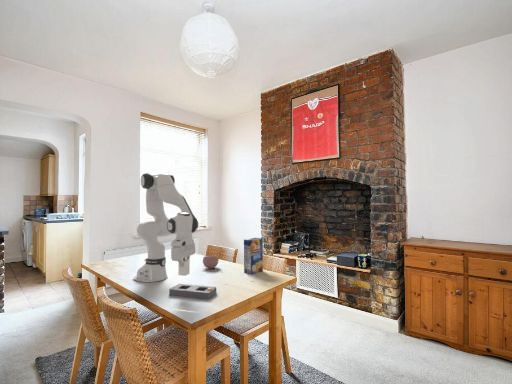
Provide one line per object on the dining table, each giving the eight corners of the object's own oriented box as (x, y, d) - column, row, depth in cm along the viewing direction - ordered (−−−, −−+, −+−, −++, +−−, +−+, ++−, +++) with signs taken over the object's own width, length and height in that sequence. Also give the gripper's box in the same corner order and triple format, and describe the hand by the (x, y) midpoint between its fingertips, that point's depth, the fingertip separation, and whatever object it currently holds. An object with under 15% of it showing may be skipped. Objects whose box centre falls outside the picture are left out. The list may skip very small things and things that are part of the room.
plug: (178, 275, 155) (178, 257, 155) (182, 272, 159) (182, 255, 159) (185, 275, 154) (185, 257, 154) (189, 273, 158) (189, 256, 158)
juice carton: (255, 269, 208) (255, 237, 209) (262, 271, 203) (262, 238, 203) (244, 272, 200) (243, 239, 200) (251, 274, 194) (250, 240, 195)
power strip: (169, 296, 153) (169, 288, 153) (179, 290, 162) (179, 282, 162) (208, 300, 146) (208, 291, 146) (216, 294, 156) (216, 286, 156)
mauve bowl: (219, 266, 218) (219, 251, 218) (217, 270, 206) (217, 255, 206) (204, 266, 219) (204, 251, 219) (201, 270, 207) (201, 255, 207)
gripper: (188, 237, 167) (188, 260, 167) (169, 243, 148) (168, 269, 147) (197, 238, 165) (197, 261, 165) (179, 244, 146) (179, 270, 146)
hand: (184, 265), depth 156 cm, fingers closed on plug, 4 cm apart
